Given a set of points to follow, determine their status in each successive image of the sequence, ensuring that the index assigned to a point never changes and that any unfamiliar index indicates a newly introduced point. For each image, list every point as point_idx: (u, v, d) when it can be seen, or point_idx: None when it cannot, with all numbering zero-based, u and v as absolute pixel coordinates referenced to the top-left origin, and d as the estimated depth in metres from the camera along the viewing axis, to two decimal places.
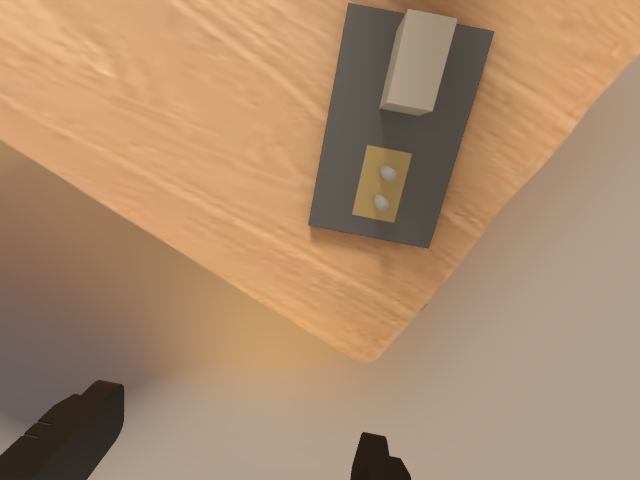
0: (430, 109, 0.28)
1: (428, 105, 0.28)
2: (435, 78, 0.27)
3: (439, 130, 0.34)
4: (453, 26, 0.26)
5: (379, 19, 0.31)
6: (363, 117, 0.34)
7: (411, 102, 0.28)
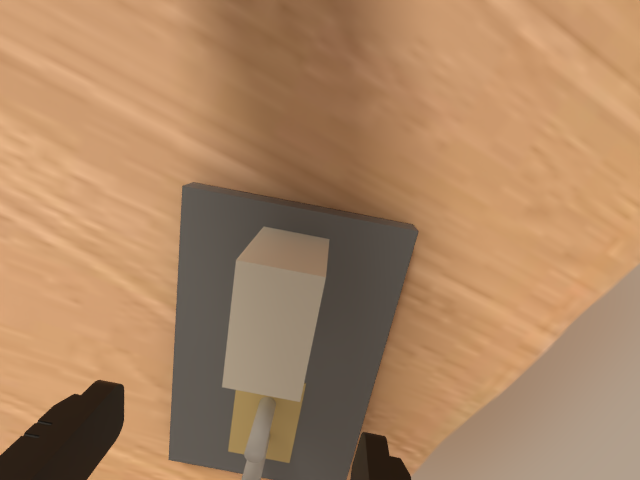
0: (296, 399, 0.16)
1: (292, 394, 0.16)
2: (298, 359, 0.16)
3: (344, 356, 0.22)
4: (319, 288, 0.14)
5: (234, 210, 0.19)
6: None
7: (263, 389, 0.16)
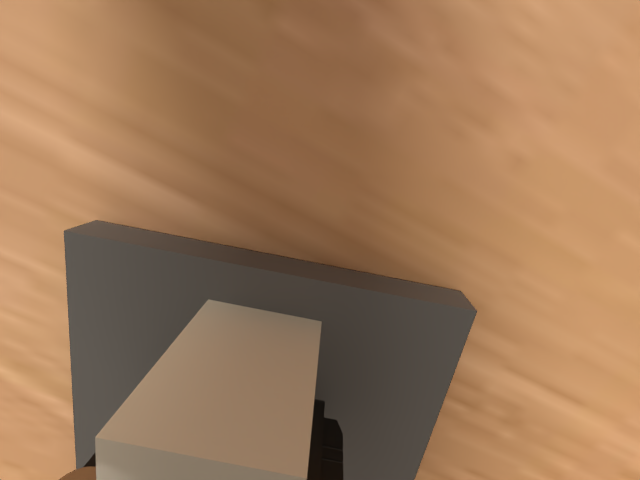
0: None
1: None
2: None
3: None
4: None
5: (157, 273, 0.11)
6: None
7: None
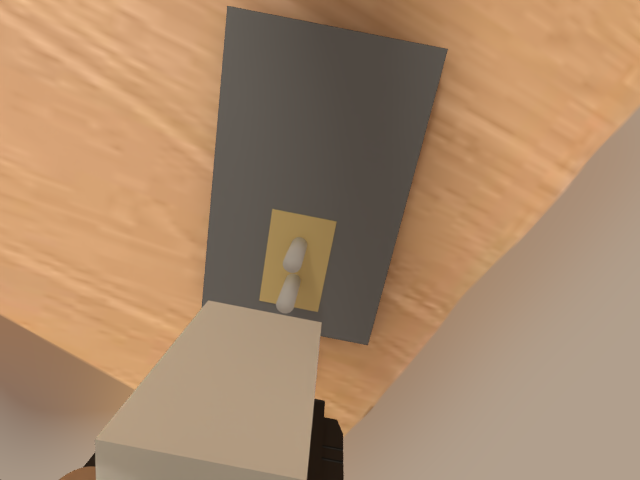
0: None
1: None
2: None
3: (373, 190, 0.23)
4: None
5: (275, 31, 0.21)
6: (264, 171, 0.23)
7: None
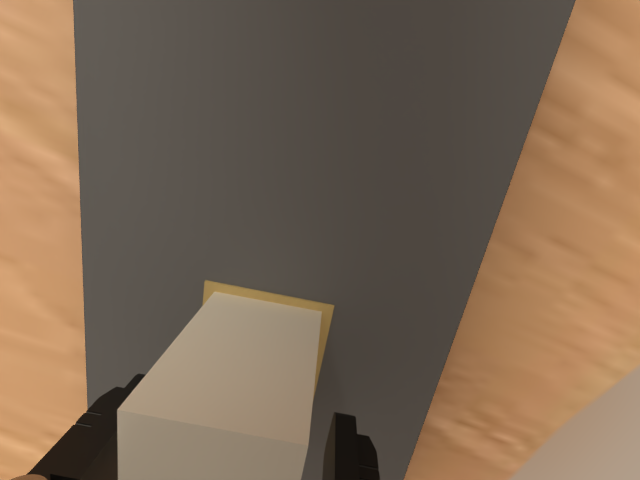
0: None
1: None
2: None
3: (411, 246, 0.11)
4: (296, 466, 0.07)
5: None
6: (183, 207, 0.11)
7: None
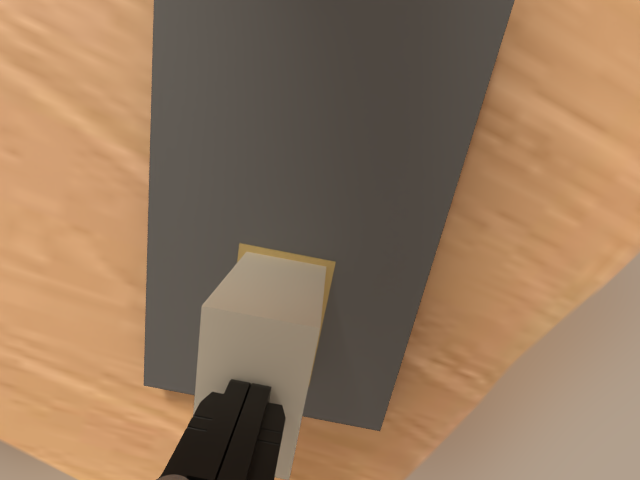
0: (284, 476, 0.13)
1: (278, 470, 0.13)
2: (286, 429, 0.12)
3: (392, 216, 0.15)
4: (312, 342, 0.11)
5: None
6: (225, 187, 0.15)
7: None
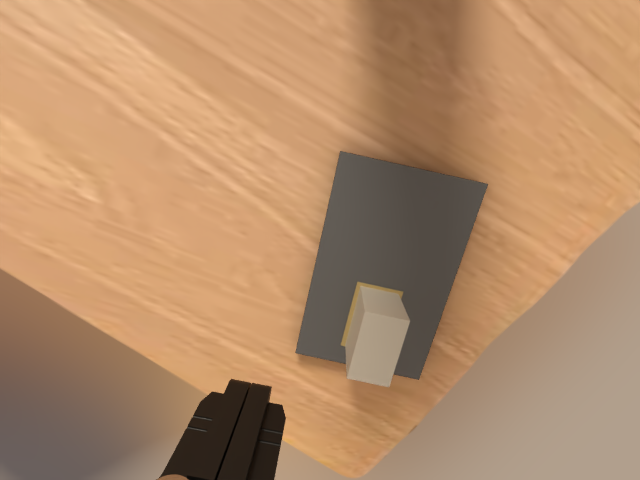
0: (387, 385, 0.30)
1: (385, 382, 0.30)
2: (391, 363, 0.29)
3: (431, 271, 0.33)
4: (406, 326, 0.28)
5: (371, 168, 0.30)
6: (354, 256, 0.33)
7: (369, 379, 0.30)
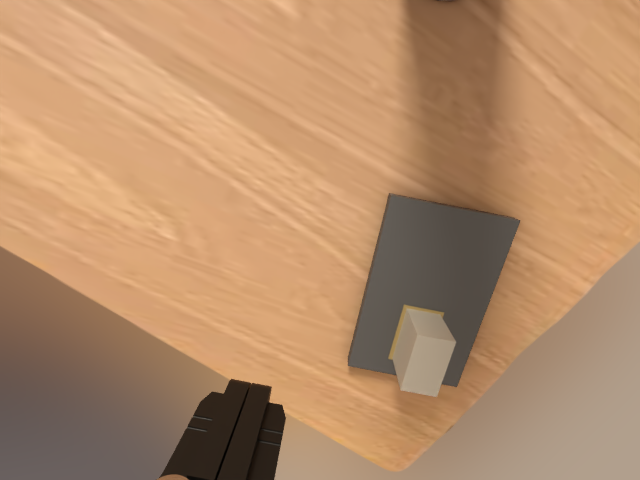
0: (435, 395, 0.35)
1: (433, 393, 0.35)
2: (439, 377, 0.34)
3: (469, 295, 0.38)
4: (453, 346, 0.33)
5: (418, 209, 0.35)
6: (401, 283, 0.38)
7: (419, 391, 0.35)
